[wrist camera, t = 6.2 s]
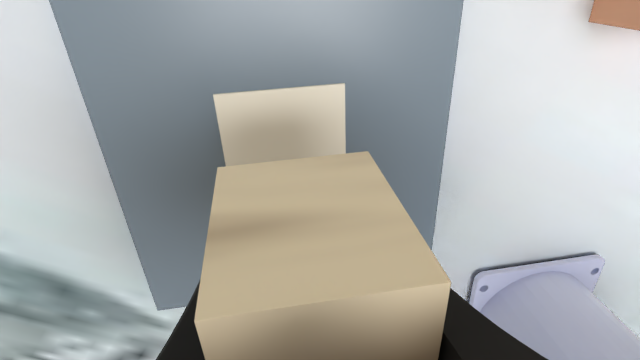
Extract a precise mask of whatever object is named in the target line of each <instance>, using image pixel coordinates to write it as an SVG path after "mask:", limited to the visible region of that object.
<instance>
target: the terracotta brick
mask: <svg viewBox="0 0 640 360" xmlns="http://www.w3.org/2000/svg"><path fill="white" fill-rule="evenodd" d="M589 22H593V23H599V24H605V25H610V26H616V27H622V28H628V29H634V30H640V0H594V4H593V8H592V11H591V15H590V18H589Z"/></svg>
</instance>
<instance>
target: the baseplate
mask: <svg viewBox="0 0 640 360" xmlns="http://www.w3.org/2000/svg"><path fill="white" fill-rule="evenodd" d="M463 1H464V0H49V2H50V5H51V7H52V10H53V13H54V16H55V19H56V22H57V25H58V27H59V30H60V33H61V36H62V39H63V42H64V45H65V47H66V50H67V53H68V56H69V59H70V62H71V65H72V67H73V70H74V73H75V76H76V79H77V82H78V85H79V87H80V90H81V93H82V96H83V99H84V102H85V105H86V107H87V110H88V113H89V116H90V119H91V122H92V125H93V127H94V130H95V133H96V136H97V139H98V142H99V145H100V147H101V150H102V153H103V156H104V159H105V162H106V165H107V167H108V170H109V173H110V176H111V179H112V182H113V185H114V187H115V190H116V193H117V196H118V199H119V202H120V205H121V207H122V210H123V213H124V216H125V219H126V222H127V225H128V227H129V230H130V233H131V236H132V239H133V242H134V244H135V247H136V250H137V253H138V256H139V259H140V262H141V264H142V267H143V270H144V273H145V276H146V279H147V282H148V284H149V287H150V290H151V293H152V296H153V299H154V302H155V304H156V307H157V310H165V309H172V308H179V307H185V306H187V305H188V303H189V301H190V299H191V297H192V295H193V293H194V291H195V289H196V287H197V285H198V283H199V281H200V278H201V273H202V266H203V260H204V253H205V246H206V240H207V233H208V227H209V220H210V213H211V207H212V200H213V194H214V187H215V181H216V174H217V167H225V166H235V165H244V164H253V163H262V162H272V161H281V160H290V159H300V158H309V157H318V156H328V155H337V154H346V153H355V152H365V151H368V152H369V153H370V155H371V157H372V158H373V160H374V161H375V163H376V164H377V166H378V168H379V169H380V171H381V172H382V174H383V175H384V177H385V179H386V180H387V182H388V183H389V185H390V186H391V188H392V190H393V191H394V193H395V194H396V196H397V197H398V199H399V201H400V202H401V204H402V205H403V207H404V208H405V210H406V212H407V213H408V215H409V216H410V218H411V219H412V221H413V223H414V224H415V226H416V227H417V229H418V230H419V232H420V234H421V235H422V237H423V238H424V240H425V242H426V243H427V245H428V246H429V248H430V249H431V250H432V242H433V235H434V227H435V219H436V211H437V203H438V196H439V188H440V180H441V172H442V165H443V157H444V149H445V141H446V133H447V126H448V118H449V110H450V102H451V95H452V87H453V79H454V71H455V63H456V56H457V48H458V40H459V32H460V25H461V17H462V9H463Z"/></svg>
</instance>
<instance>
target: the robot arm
mask: <svg viewBox="0 0 640 360" xmlns="http://www.w3.org/2000/svg"><path fill="white" fill-rule="evenodd" d="M604 264H605V260H604V258H602V257H601V256H600V255H589V256H582V257H575V258H569V259H562V260H555V261H549V262H542V263H535V264H529V265H522V266H515V267H509V268H502V269H495V270H488V271H482V272H480V273H478V274H477V275H476V276H475V278H474V282H473V286H472V291H471V296H470V301H469V303H468V302H466V301H465V300H464V299H463V298H462V297H460V296H459V295H458V294H457V293H456V292H454V291H453V290H452V289H451V288H450V292H449V298H448V304H447V310H446V316H445V322H444V328H443V334H442V339H441V345H440V351H439V357H438V360H640V339H639V338H638V337H637V336H636V335H635V334H634V333H633V332H632V331H631V330H630V329H629V328H628V327H627V326H626V325H625V324H624V323H623V322H622V321H621V320H620V319H619V318H618V317H617V316H616V315H614V314H613V313H612V312H611V311H610V310H609V309H608V308H607V307H606V306H605V305H604V304H603V303H602V302H601V301H600V300H599V299H598V298H597V297H596V296H595V295H594V294H593V293H592V292H593V290H594V288H595V285H596V283H597V281H598V278H599V276H600V273H601V271H602V269H603V266H604ZM200 279H201V278H200ZM199 286H200V281H199V283H198V285H197V287H196V289H195V291H194V293H193V295H192V297H191V299H190V301H189V303H188V305H187V307H186V309H185V311H184V313H183V315H182V316H181V318H180V320H179V322H178V323H177V325H176V327H175V329H174V331H173V332H172V334H171V336H170V338H169V339H168V341H167V343H166V344H165V346H164V348H163V349H162V351H161V352H160V354H159V356H158V357H157V359H156V360H205V357H204V353H203V350H202V347H201V343H200V340H199V336H198V333H197V329H196V326H195V322H194V319H195V312H196V306H197V299H198V293H199Z"/></svg>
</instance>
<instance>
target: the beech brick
mask: <svg viewBox="0 0 640 360" xmlns="http://www.w3.org/2000/svg"><path fill="white" fill-rule="evenodd" d="M450 286H451V281H450V279H449V278H448V276H447V275H446V273H445V271H444V270H443V268H442V267H441V265H440V264H439V262H438V260H437V259H436V257H435V256H434V254H433V253H432V251H431V249H430V248H429V246H428V245H427V243H426V242H425V240H424V238H423V237H422V235H421V234H420V232H419V230H418V229H417V227H416V226H415V224H414V223H413V221H412V219H411V218H410V216H409V215H408V213H407V212H406V210H405V208H404V207H403V205H402V204H401V202H400V201H399V199H398V197H397V196H396V194H395V193H394V191H393V190H392V188H391V186H390V185H389V183H388V182H387V180H386V179H385V177H384V175H383V174H382V172H381V171H380V169H379V168H378V166H377V164H376V163H375V161H374V160H373V158H372V157H371V155H370V153H369V152H368V151H365V152H355V153H346V154H337V155H328V156H318V157H309V158H300V159H290V160H281V161H272V162H262V163H253V164H244V165H235V166H225V167H217V174H216V181H215V187H214V194H213V200H212V207H211V213H210V220H209V227H208V233H207V240H206V246H205V253H204V260H203V266H202V273H201V279H200V286H199V293H198V299H197V306H196V312H195V319H194V322H195V326H196V329H197V333H198V336H199V340H200V343H201V347H202V350H203V353H204V357H205V360H438V357H439V351H440V345H441V339H442V334H443V328H444V322H445V316H446V310H447V304H448V298H449V292H450Z"/></svg>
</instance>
